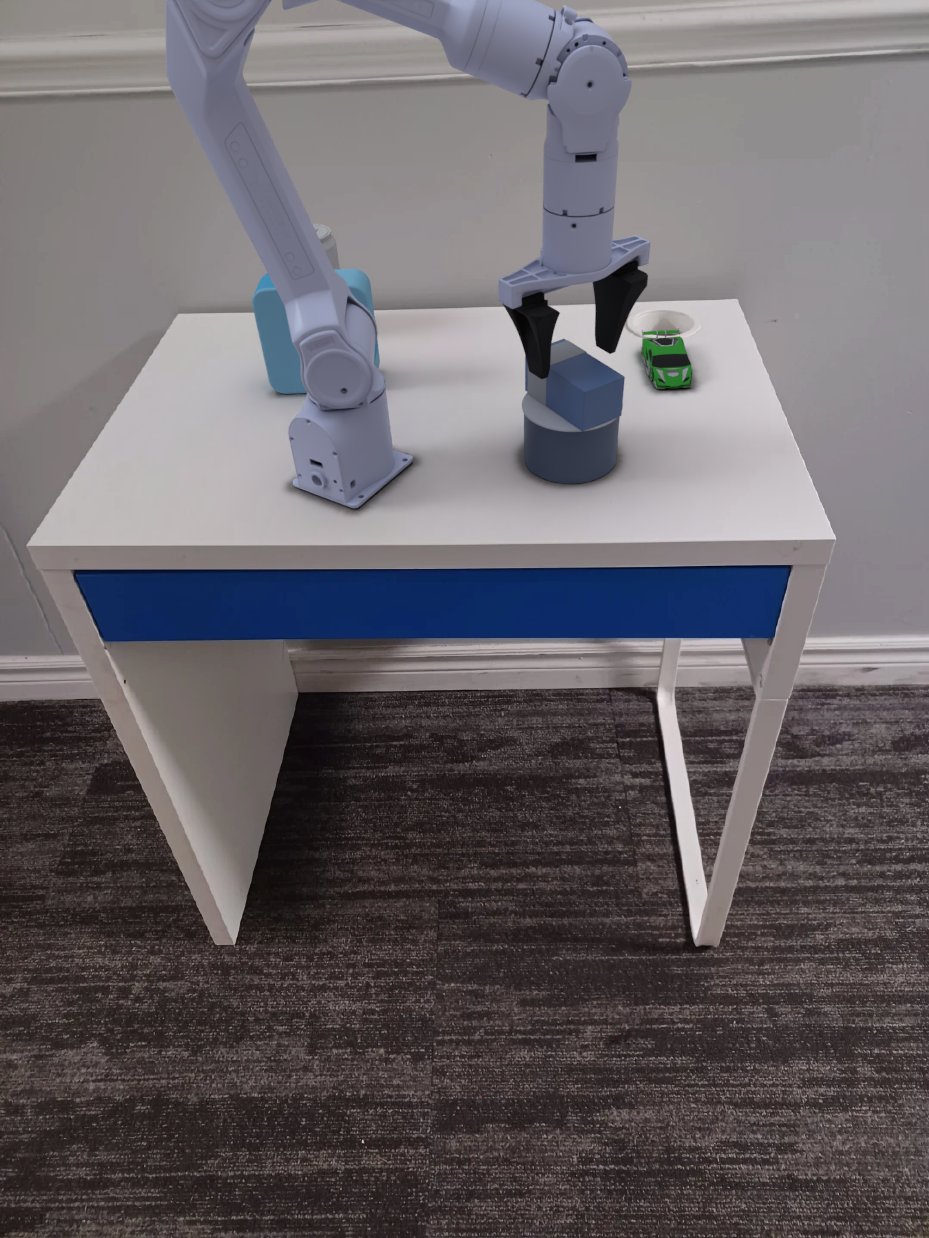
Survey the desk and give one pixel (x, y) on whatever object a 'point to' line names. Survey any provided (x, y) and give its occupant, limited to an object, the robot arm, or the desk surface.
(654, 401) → the desk surface
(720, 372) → the desk surface
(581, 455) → the yogurt tub
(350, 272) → the data package
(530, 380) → the block
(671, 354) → the toy car
